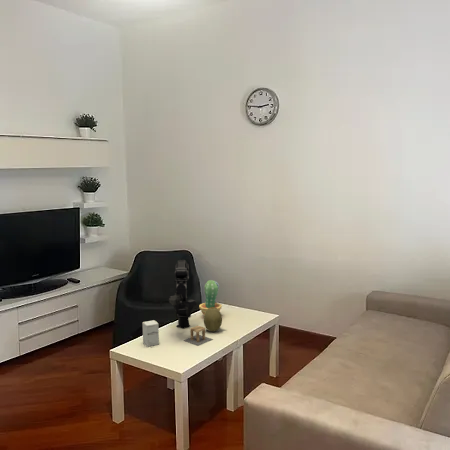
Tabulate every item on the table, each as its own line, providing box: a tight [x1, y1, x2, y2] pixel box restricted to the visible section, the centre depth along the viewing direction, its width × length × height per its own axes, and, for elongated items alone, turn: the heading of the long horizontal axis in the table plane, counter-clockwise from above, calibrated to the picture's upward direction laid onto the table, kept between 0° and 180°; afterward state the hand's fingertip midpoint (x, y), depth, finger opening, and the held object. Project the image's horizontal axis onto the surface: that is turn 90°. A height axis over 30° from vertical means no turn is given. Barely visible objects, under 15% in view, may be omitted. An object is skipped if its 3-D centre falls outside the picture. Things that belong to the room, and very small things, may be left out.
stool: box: [189, 325, 206, 342], centre depth 275 cm, size 6×6×7 cm
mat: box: [183, 334, 214, 347], centre depth 275 cm, size 12×12×1 cm
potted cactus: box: [198, 279, 223, 316], centre depth 315 cm, size 15×15×25 cm
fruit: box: [203, 307, 223, 332], centre depth 290 cm, size 11×11×15 cm
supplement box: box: [142, 319, 160, 348], centre depth 270 cm, size 7×7×13 cm
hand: (182, 315), depth 281 cm, fingers open, 9 cm apart
